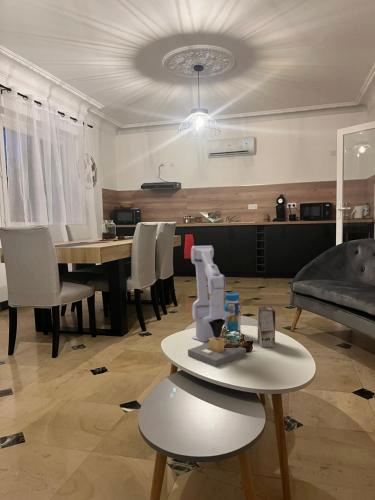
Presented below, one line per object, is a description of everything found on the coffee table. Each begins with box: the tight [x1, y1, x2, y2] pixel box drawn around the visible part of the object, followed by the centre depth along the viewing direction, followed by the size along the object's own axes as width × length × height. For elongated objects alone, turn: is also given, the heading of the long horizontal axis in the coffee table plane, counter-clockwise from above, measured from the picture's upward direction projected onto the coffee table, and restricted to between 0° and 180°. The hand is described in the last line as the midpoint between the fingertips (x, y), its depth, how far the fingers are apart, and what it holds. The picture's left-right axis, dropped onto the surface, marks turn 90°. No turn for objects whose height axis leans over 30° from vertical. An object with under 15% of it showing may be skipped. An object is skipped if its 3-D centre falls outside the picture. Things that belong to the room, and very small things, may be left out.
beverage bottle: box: [223, 292, 242, 334], centre depth 176 cm, size 8×8×20 cm
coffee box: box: [257, 306, 276, 348], centre depth 161 cm, size 9×6×16 cm
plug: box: [208, 336, 225, 353], centre depth 149 cm, size 4×5×7 cm
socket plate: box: [187, 342, 247, 368], centre depth 149 cm, size 18×16×3 cm
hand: (216, 337), depth 148 cm, fingers closed
